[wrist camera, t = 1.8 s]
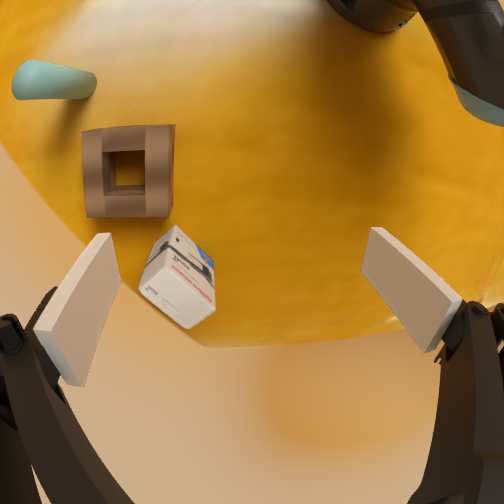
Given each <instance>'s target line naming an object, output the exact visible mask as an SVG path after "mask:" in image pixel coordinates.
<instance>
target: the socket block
mask: <svg viewBox="0 0 504 504" xmlns="http://www.w3.org/2000/svg"><path fill="white" fill-rule="evenodd" d="M174 138H175V124H168V125H138V126H122V127H110V128H100V129H93V130H88V131H83V132H82V164H83V181H84V193H85V203H86V212H87V218H105V217H168V216H169V214H170V211H171V208H172V206H173V163H174ZM130 150H145V185H128V186H116V171H115V151H130Z"/></svg>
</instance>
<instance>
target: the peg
mask: <svg viewBox="0 0 504 504" xmlns="http://www.w3.org/2000/svg"><path fill="white" fill-rule="evenodd" d="M96 85H97V80H96V77H95V76H94V74H92V73H90V72H86V71H82V70H78V69H74V68H70V67H66V66H62V65H57V64H53V63H48V62H43V61H38V60H28V61H26V62H25V63H23V64H22V65H21V66H20V67H19V69H18V70H17V72H16V73H15V75H14V78H13V82H12V93H13V95H14V97H15V98H16V99H18V100H31V99H79V100H83V99H86V98H88V97H89V96H91V95H92V94H93V92H94V91H95V88H96Z"/></svg>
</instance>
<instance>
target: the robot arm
mask: <svg viewBox="0 0 504 504" xmlns="http://www.w3.org/2000/svg"><path fill="white" fill-rule="evenodd" d="M328 2H329V3H330V4H331V6H332V7H333V8H334V9H335V10H336V11H337V12H338V13H339V14H340V15H342V16H343V17H344V18H345V19H347V20H348V21H350V22H351V23H353V24H355V25H357V26H359V27H361V28H363V29H366V30H369V31H372V32H379V33H384V32H390V31H393V30H397V29H399V28H401V27H403V26H404V25H405V24H406V23H407V22H408V21H409V20H410V19H411V18H412V17H413V16H414V15H415V14H416V13H417V12H419V13H420V15H421V17H422V18H423V20H424V22H425V24H426V26H427V28H428V30H429V32H430V34H431V35H432V37H433V39H434V41H435V43H436V46H437V48H438V50H439V52H440V54H441V56H442V59H443V61H444V64H445V66H446V69H447V71H448V76H449V80H450V81H451V83H452V84H453V86H454V88H455V91H456V93H457V96H458V99H459V101H460V103H461V105H462V106H463V107H464V109H466V110H467V111H468V112H469V113H471V114H472V115H473V116H474V117H476V118H478V119H480V120H482V121H485V122H487V123H490V124H493V125H497V126H501V127H504V11H503V9H502V7H501V5H500V3H499V1H498V0H328ZM451 16H452V17H451ZM445 17H446V18H445ZM360 272H361V273H362V274H363V275H364V276H365V278H366V279H367V280H368V281H369V282H370V284H371V285H372V286H373V287H374V289H375V290H376V291H377V292H378V294H379V295H380V296H381V297H382V299H383V300H384V301H385V302H386V304H387V305H388V306H389V307H390V309H391V310H392V311H393V313H394V314H395V315H396V317H397V318H398V319H399V320H400V322H401V323H402V324H403V326H404V327H405V328H406V330H407V331H408V332H409V334H410V335H411V337H412V338H413V339H414V341H415V342H416V343H417V345H418V346H419V348H420V349H421V350H422V352H423V353H427V352H430V351H432V350H435V349H436V347H437V345H438V344H439V342H440V341H441V339H442V340H443V341H444V343H445V344H444V346H443V347H442V349H441V350H440V352H439V354H438V355H437V357H436V358H435V360H434V363H436V362H437V360H438V359H439V358H441V361H440V362H439V364H440V365H441V374H440V387H439V398H438V405H437V413H436V420H435V426H434V432H433V437H432V442H431V447H430V452H429V456H428V460H427V464H426V468H425V472H424V476H423V479H422V482H421V484H420V486H419V488H418V489H417V490H416V491H415V492H414V494H413V495H412V496H411V498H410V499H409V501H408V503H407V504H504V346H503V348H502V349H501V351H500V353H498V349H497V348H498V346H499V345H500V343H501V342H502V340H503V341H504V304H502V303H498V304H497V305H496V307H495V309H494V311H493V312H488V310H487V309H486V308H485V307H484V306H483V305H482V304H480V303H478V302H475V301H469V302H468V303H466V302H465V301H464V300H463V299H462V298H461V297H460V296H459V295H458V294H457V293H456V292H455V291H454V290H453V289H452V288H451V287H450V286H449V285H448V284H447V283H446V282H445V281H444V280H443V279H442V278H441V277H440V276H439V275H437V274H436V273H435V272H434V271H433V270H432V269H431V268H430V267H429V266H427V265H426V264H425V263H424V262H423V261H422V260H421V259H420V258H418V257H417V256H416V255H415V254H414V253H413V252H412V251H410V250H409V249H408V248H407V247H406V246H404V245H403V244H402V243H401V242H400V241H398V240H397V239H396V238H395V237H394V236H392V235H391V234H390V233H389V232H387V231H386V230H385V229H384V228H382V227H371V229H370V234H369V238H368V242H367V246H366V250H365V254H364V258H363V262H362V266H361V269H360ZM120 283H121V278H120V273H119V269H118V265H117V260H116V256H115V251H114V246H113V240H112V235H111V233H97V234H96V236H95V237H94V238H93V239H92V241H91V242H90V243H89V245H88V246H87V247H86V249H85V250H84V251H83V253H82V254H81V255H80V257H79V258H78V259H77V261H76V262H75V264H74V265H73V266H72V268H71V269H70V271H69V272H68V273H67V275H66V277H65V278H64V279H63V281H62V282H61V284H60V285H59V287H54V288H53V289H51V290H50V291H49V292H48V293H47V294H46V295H45V297H44V298H43V299H42V301H41V304H39V306H38V308H37V309H36V310H37V311H35V312H34V314H33V315H32V317H31V319H30V320H29V322H28V324H27V326H26V327H25V329H23V328H22V326H21V324H20V322H19V320H18V318H17V316H16V315H14V314H6V315H3V316H1V317H0V504H42V502H41V499H40V496H39V493H38V489H37V486H36V483H35V479H34V475H33V471H32V467H33V469H34V471H35V473H36V475H37V477H38V480H39V482H40V483H41V486H42V488H43V489H44V491H45V493H46V495H47V497H48V498H49V500H50V502H51V504H134V503H133V501H132V500H131V499H130V498H129V496H128V495H127V494H126V493H125V492H124V490H123V489H122V488H121V487H120V485H119V484H118V483H117V482H116V480H115V479H114V478H113V476H112V475H111V473H110V472H109V471H108V469H107V468H106V466H105V465H104V463H103V462H102V461H101V459H100V458H99V456H98V455H97V453H96V452H95V450H94V448H93V447H92V445H91V444H90V442H89V440H88V439H87V437H86V435H85V433H84V432H83V430H82V428H81V426H80V425H79V423H78V421H77V419H76V418H75V415H74V414H73V412H72V410H71V408H70V406H69V404H68V401H67V399H66V397H65V395H64V393H63V391H62V389H61V387H60V386H59V384H58V379H59V376H60V375H61V376H62V378H63V379H64V381H65V382H66V384H67V385H73V386H79V387H84V386H85V383H86V379H87V376H88V372H89V369H90V366H91V362H92V359H93V356H94V353H95V350H96V347H97V344H98V341H99V338H100V335H101V332H102V329H103V327H104V324H105V321H106V318H107V315H108V313H109V311H110V307H111V305H112V302H113V300H114V298H115V295H116V293H117V290H118V288H119V286H120ZM31 465H32V466H31Z"/></svg>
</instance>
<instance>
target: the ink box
mask: <svg viewBox="0 0 504 504" xmlns="http://www.w3.org/2000/svg"><path fill="white" fill-rule="evenodd" d="M138 290H139V291H140V292H141V294H142V295H144V296H145V297H146V298H147V299H148V300H149V301H151V302H152V303H153V304H154V305H156V306H157V307H158V308H159V309H161V311H163V312H164V313H165V314H167V315H168V316H169V317H171V318H172V319H173V320H174V321H175V322H177V323H178V324H180V325H181V326H182V327H183V328H186V329H187V328H188V329H191V328H193V327H194V326H196V325H197V324H198V323H200V322H201V321H203V320H204V319H205V318H207V317H208V316H210V315H211V314H212V313H214V312H215V311H216V307H215V288H214V262H213V260H212V259H210V258H209V257H208V256H207V255H206V254H205V253H204V252H203V251H202V250H201V249H200V248H199V247H198V246H197V245H196V244H195V243H194V242H193V241H192V240H191V239H190V238H189V237H188V236H187V235H186V234H185V233H184V232H183V231H182V230H181V229H180V228H179V227H178V226H177V225H174V226H173V227H172V228H171V229H169V230H168V231H167V232H166V233H165V234H164V235H162V236H161V237H160V238H159V239H158V240H157V241H156V242H155V243H154V245H153V247H152V250H151V253H150V255H149V258H148V261H147V264H146V266H145V269H144V272H143V275H142V277H141V280H140V284H139V287H138Z"/></svg>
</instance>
